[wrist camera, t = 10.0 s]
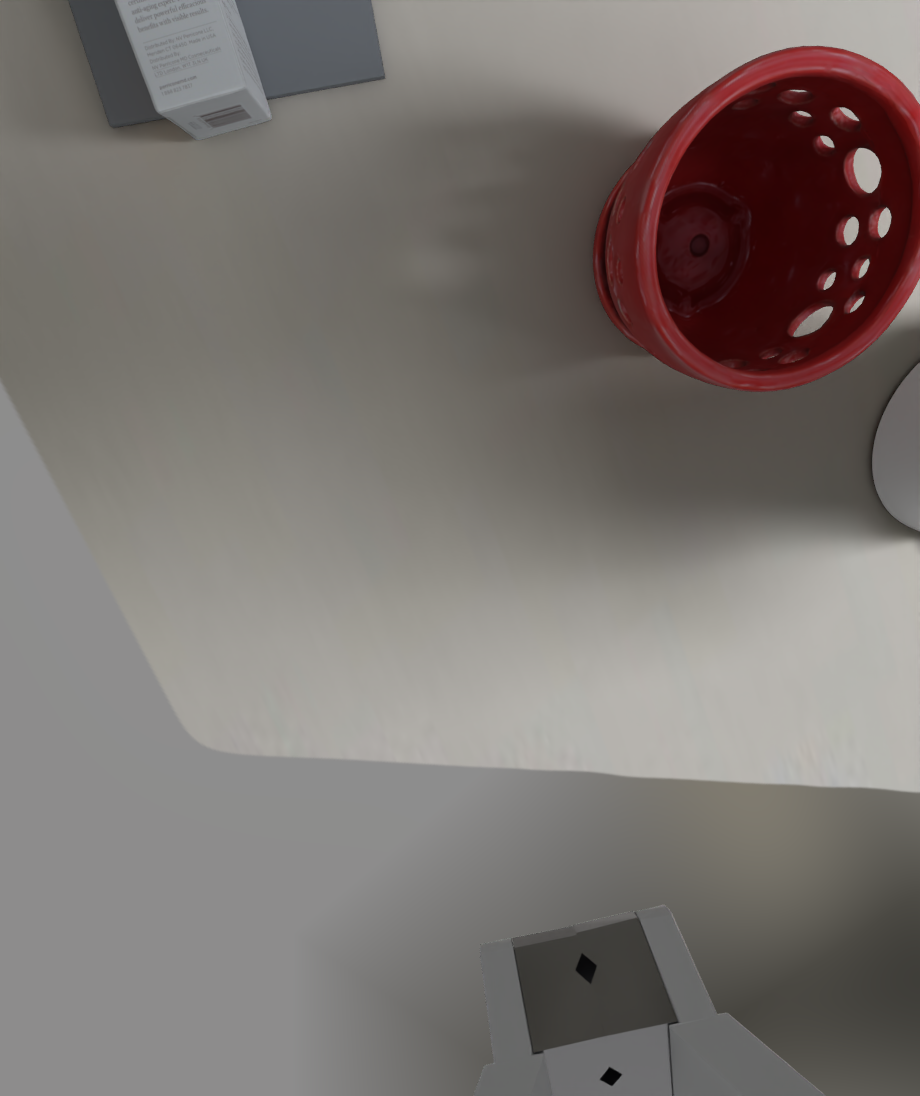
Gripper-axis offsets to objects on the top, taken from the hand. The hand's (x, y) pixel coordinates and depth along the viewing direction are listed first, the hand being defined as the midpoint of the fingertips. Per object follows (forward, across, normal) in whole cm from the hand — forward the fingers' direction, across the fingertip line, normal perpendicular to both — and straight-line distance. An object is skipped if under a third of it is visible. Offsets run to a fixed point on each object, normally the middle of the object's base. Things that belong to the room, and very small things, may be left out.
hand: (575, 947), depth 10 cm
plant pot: (+33, -16, -9) cm, 38 cm away
